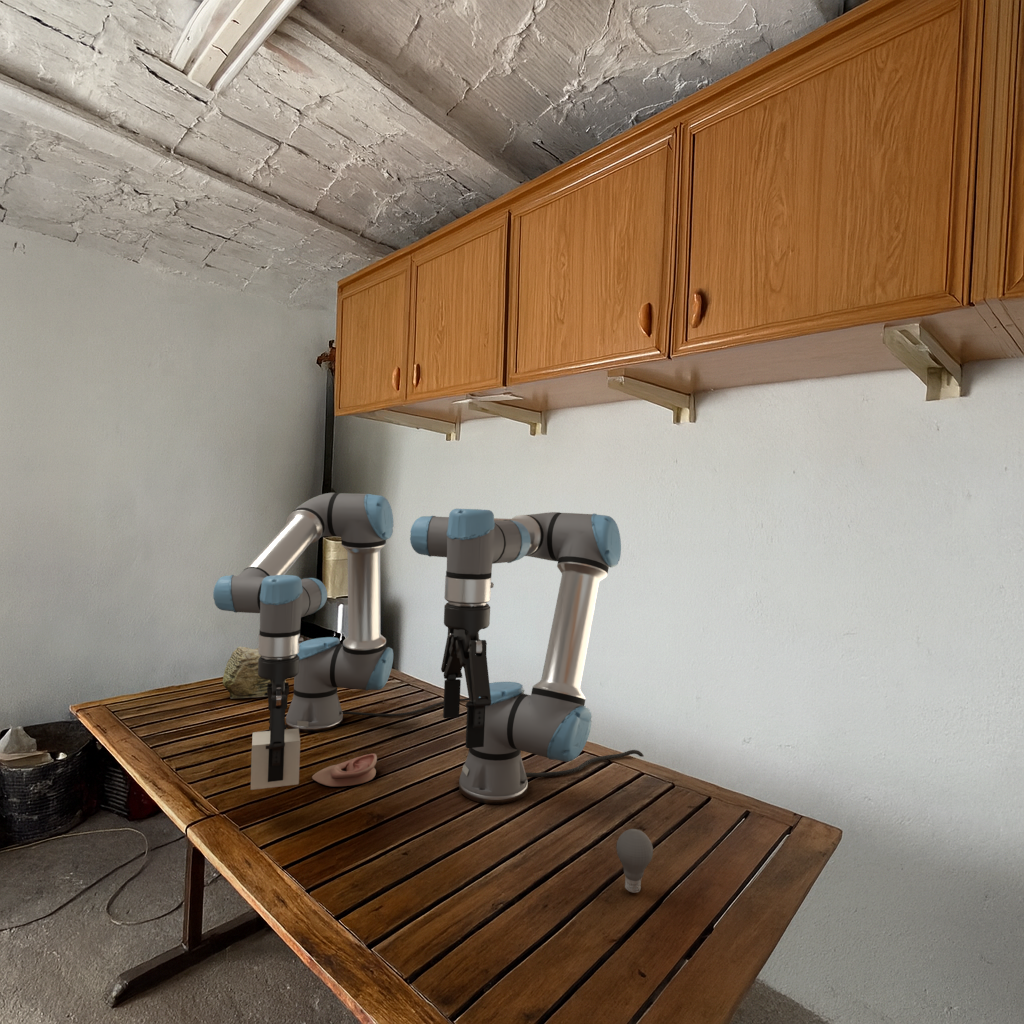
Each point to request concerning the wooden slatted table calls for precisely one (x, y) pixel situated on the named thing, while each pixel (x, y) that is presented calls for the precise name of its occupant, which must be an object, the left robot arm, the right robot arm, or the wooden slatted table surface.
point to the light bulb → (634, 857)
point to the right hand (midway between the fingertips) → (462, 731)
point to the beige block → (262, 757)
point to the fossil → (244, 675)
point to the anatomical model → (348, 772)
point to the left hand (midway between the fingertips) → (275, 771)
